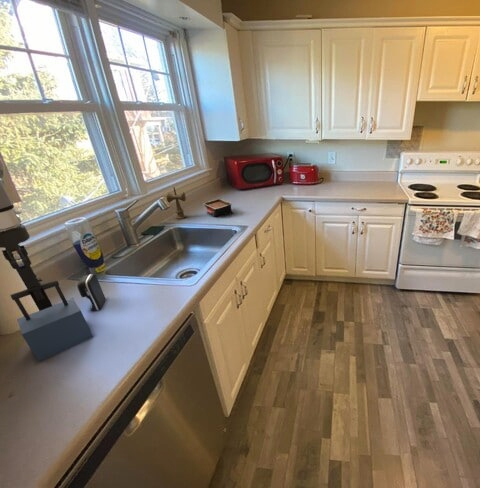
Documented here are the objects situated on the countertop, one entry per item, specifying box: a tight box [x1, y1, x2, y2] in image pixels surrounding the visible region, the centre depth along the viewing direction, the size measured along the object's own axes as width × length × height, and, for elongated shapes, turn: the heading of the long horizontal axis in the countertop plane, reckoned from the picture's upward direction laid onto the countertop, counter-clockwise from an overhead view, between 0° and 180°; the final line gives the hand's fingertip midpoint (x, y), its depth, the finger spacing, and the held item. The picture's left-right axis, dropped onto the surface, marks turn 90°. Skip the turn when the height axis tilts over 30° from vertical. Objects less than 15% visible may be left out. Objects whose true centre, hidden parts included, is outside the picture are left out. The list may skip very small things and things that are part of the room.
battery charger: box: [76, 273, 106, 312], centre depth 94 cm, size 7×4×11 cm, turn 23°
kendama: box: [165, 186, 187, 220], centre depth 170 cm, size 6×10×20 cm, turn 100°
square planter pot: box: [202, 198, 233, 218], centre depth 180 cm, size 14×18×10 cm
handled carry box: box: [9, 279, 94, 363], centre depth 78 cm, size 18×12×9 cm
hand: (45, 306), depth 77 cm, fingers closed on handled carry box, 2 cm apart
